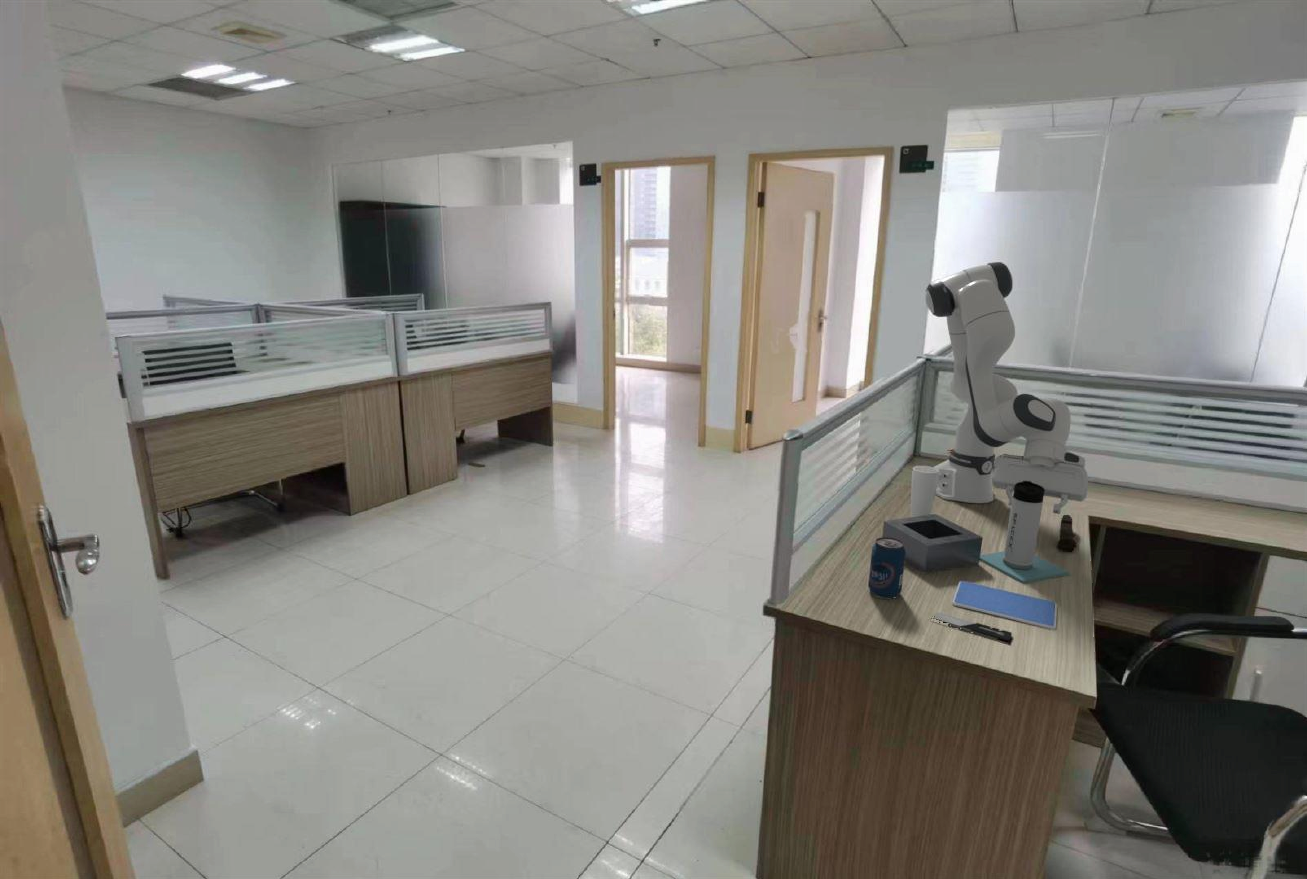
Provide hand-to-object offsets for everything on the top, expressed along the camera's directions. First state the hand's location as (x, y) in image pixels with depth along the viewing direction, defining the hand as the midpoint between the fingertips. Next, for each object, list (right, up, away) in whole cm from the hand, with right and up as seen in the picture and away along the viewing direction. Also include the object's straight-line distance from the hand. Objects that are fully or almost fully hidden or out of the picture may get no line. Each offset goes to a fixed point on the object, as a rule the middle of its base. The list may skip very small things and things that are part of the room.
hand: (1033, 508), depth 162 cm
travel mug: (-4, -14, +1) cm, 14 cm away
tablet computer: (-16, -20, -17) cm, 30 cm away
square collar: (-22, -12, +7) cm, 26 cm away
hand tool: (+17, -10, +17) cm, 27 cm away
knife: (-27, -22, -27) cm, 44 cm away
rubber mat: (-2, -14, +1) cm, 14 cm away
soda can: (-40, -17, -12) cm, 45 cm away
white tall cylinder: (-16, -6, +29) cm, 34 cm away
